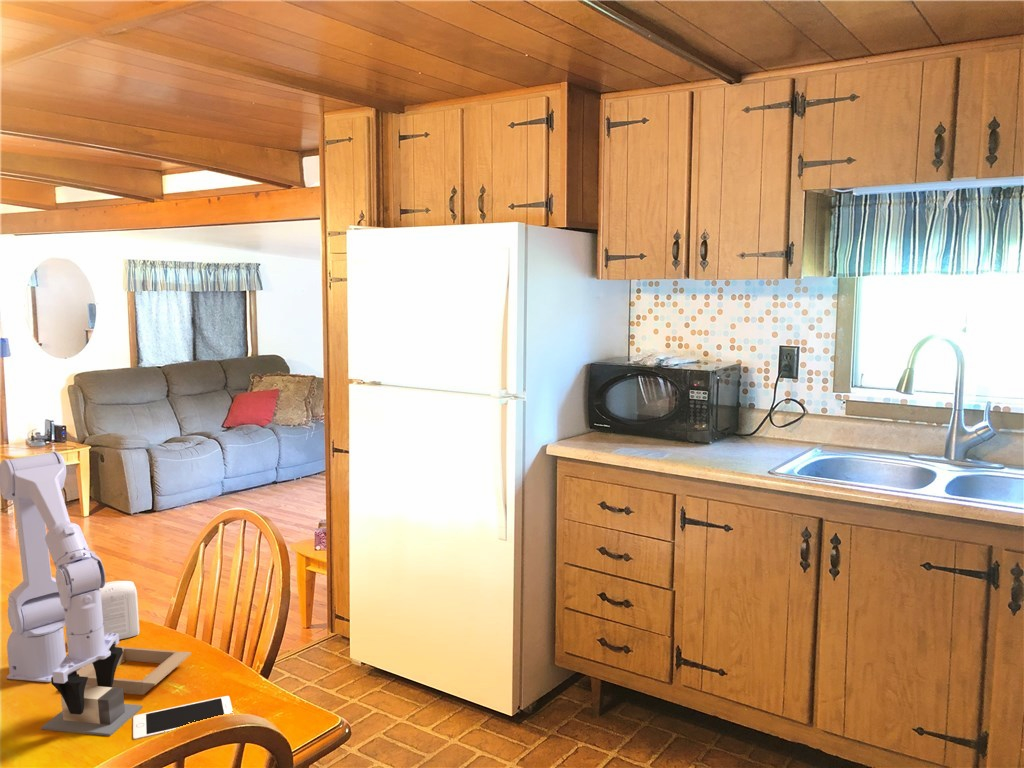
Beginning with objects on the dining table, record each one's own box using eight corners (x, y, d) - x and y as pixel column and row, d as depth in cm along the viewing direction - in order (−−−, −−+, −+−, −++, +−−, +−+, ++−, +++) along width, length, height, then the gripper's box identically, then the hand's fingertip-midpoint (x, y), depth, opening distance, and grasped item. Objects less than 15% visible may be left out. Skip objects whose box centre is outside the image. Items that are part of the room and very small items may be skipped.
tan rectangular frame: (71, 688, 153) (70, 676, 153) (113, 657, 165) (112, 646, 165) (155, 696, 150) (154, 683, 150) (191, 664, 162) (191, 652, 162)
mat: (41, 729, 140) (41, 727, 140) (77, 701, 149) (76, 699, 149) (110, 736, 138) (109, 733, 138) (142, 707, 147) (142, 705, 147)
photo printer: (138, 628, 178) (133, 574, 176) (141, 636, 175) (137, 580, 173) (85, 640, 173) (80, 585, 171) (88, 648, 169) (82, 591, 167)
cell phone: (133, 718, 144) (132, 715, 144) (229, 698, 150) (229, 695, 150) (133, 742, 137) (132, 738, 137) (234, 719, 143) (233, 716, 143)
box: (63, 720, 142) (61, 696, 141) (79, 707, 146) (76, 684, 145) (110, 724, 141) (108, 700, 140) (124, 712, 144) (122, 688, 144)
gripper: (77, 649, 133) (84, 726, 135) (132, 611, 147) (137, 681, 149) (38, 645, 134) (45, 722, 136) (96, 608, 148) (102, 678, 150)
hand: (91, 701), depth 143 cm, fingers open, 7 cm apart
